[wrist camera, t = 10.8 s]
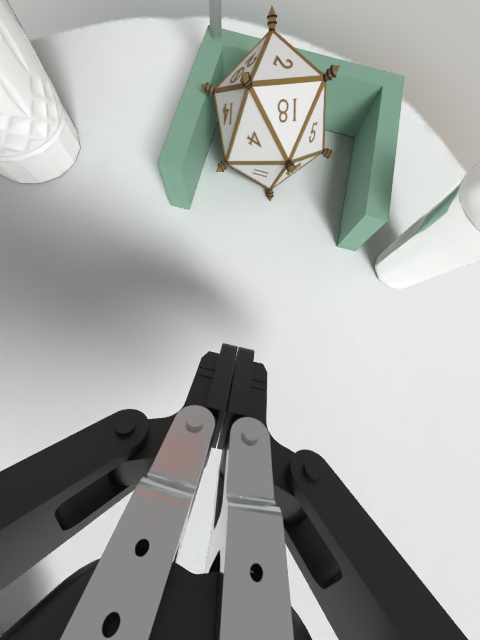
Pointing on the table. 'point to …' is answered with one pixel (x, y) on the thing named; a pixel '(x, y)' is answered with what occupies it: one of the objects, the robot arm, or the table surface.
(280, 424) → the table surface
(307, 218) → the table surface
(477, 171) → the milkshake
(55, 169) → the white cup
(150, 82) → the table surface
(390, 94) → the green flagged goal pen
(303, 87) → the game die
